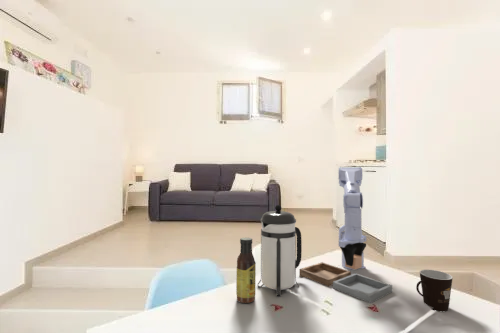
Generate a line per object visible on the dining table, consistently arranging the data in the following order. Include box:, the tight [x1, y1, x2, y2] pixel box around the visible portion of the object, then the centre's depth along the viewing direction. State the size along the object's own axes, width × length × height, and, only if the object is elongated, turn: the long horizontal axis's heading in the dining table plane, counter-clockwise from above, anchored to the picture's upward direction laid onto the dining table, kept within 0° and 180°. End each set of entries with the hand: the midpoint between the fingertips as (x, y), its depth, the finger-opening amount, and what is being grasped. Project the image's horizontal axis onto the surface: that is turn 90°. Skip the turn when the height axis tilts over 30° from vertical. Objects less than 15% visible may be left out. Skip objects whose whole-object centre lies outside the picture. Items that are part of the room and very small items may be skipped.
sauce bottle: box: [235, 237, 257, 304], centre depth 92 cm, size 7×6×20 cm
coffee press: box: [257, 204, 303, 297], centre depth 102 cm, size 17×16×30 cm
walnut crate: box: [299, 261, 352, 287], centre depth 110 cm, size 14×14×3 cm
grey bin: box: [332, 272, 393, 304], centre depth 98 cm, size 14×14×3 cm
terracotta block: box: [345, 254, 362, 271], centre depth 100 cm, size 4×4×4 cm
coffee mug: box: [416, 269, 453, 312], centre depth 88 cm, size 12×9×10 cm
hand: (353, 263), depth 101 cm, fingers closed on terracotta block, 4 cm apart
